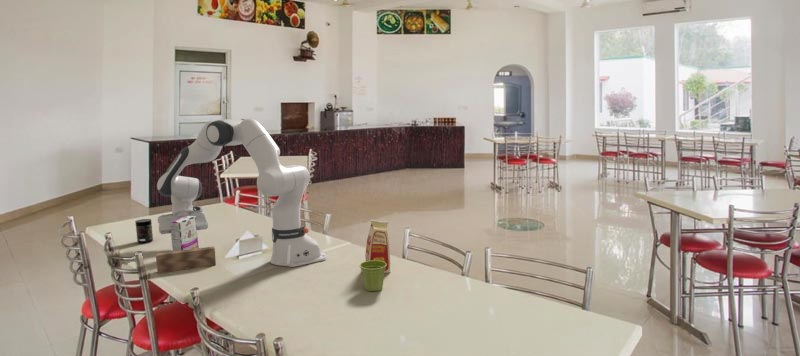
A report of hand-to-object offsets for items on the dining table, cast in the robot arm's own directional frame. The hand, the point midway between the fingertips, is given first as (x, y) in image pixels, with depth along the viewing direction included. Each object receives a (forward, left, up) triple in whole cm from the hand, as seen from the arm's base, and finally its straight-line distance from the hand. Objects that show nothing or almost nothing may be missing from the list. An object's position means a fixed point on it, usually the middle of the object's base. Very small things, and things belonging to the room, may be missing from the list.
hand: (185, 238), depth 212 cm
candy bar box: (0, +9, -6) cm, 10 cm away
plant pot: (-58, +79, -6) cm, 98 cm away
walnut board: (0, +26, -5) cm, 26 cm away
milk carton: (-67, +62, -6) cm, 91 cm away
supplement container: (+17, -24, -6) cm, 30 cm away
